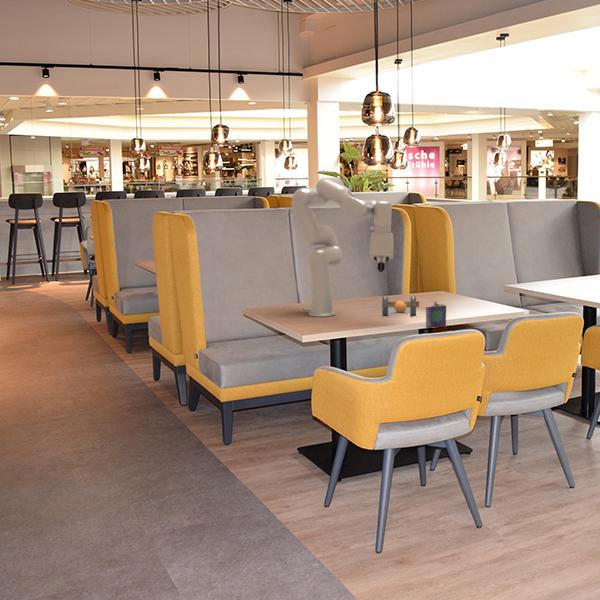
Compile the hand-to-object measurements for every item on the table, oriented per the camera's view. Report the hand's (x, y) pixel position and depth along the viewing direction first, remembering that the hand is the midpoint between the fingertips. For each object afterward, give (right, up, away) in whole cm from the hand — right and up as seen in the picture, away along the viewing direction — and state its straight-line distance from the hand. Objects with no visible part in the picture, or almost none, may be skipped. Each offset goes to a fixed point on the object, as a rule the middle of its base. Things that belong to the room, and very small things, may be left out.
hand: (380, 271), depth 346 cm
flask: (+22, -24, -10) cm, 34 cm away
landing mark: (+12, -18, +31) cm, 38 cm away
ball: (+12, -16, +26) cm, 33 cm away
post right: (+16, -20, +16) cm, 31 cm away
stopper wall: (+14, -16, +45) cm, 49 cm away
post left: (+4, -20, +18) cm, 27 cm away
